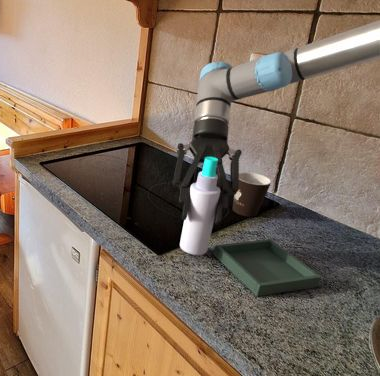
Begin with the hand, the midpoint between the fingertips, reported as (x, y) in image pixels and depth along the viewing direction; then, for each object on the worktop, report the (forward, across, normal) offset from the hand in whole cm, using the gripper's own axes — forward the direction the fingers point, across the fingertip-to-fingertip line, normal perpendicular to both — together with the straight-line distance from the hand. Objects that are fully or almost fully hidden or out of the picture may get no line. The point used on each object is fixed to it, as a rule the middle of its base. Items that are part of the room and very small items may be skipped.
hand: (201, 220), depth 86 cm
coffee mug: (-15, -15, -30) cm, 37 cm away
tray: (+6, -15, -9) cm, 18 cm away
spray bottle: (+4, 0, -9) cm, 10 cm away
